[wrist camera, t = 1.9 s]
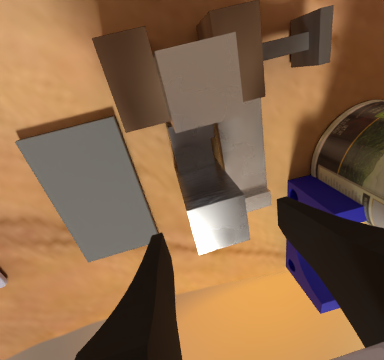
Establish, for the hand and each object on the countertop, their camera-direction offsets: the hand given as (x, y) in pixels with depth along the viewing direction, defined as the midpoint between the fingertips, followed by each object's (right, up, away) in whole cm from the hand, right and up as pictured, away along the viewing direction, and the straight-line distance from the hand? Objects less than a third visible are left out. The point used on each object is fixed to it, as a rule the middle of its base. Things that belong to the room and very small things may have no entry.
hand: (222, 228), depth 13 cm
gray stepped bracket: (-2, +5, +6) cm, 8 cm away
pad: (-10, +2, +5) cm, 11 cm away
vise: (0, +11, +3) cm, 12 cm away
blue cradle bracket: (+11, -2, +11) cm, 16 cm away
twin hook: (0, +6, +5) cm, 8 cm away
